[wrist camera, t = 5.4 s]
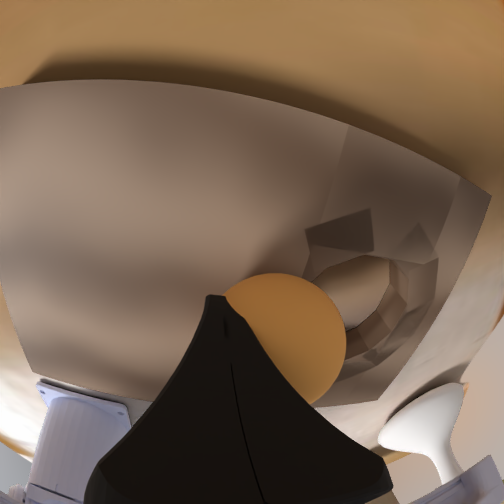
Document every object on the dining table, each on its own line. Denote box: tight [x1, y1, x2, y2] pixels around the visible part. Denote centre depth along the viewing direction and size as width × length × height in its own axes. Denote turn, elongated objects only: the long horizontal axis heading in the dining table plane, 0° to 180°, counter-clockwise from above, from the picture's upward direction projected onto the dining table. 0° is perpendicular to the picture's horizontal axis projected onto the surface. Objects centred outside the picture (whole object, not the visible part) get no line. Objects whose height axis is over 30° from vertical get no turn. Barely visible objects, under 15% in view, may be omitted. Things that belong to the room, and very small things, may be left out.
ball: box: [222, 273, 346, 405], centre depth 10 cm, size 5×5×5 cm
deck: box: [0, 79, 492, 408], centre depth 13 cm, size 16×24×2 cm, turn 77°
